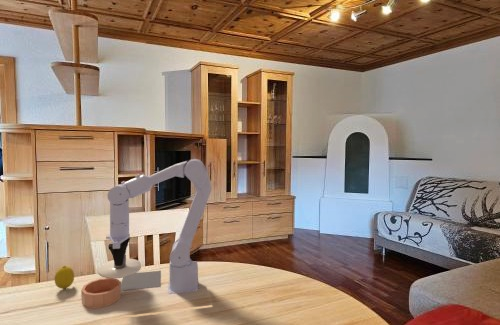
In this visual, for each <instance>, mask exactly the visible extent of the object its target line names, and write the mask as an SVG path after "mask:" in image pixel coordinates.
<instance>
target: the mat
mask: <svg viewBox="0 0 500 325" xmlns="http://www.w3.org/2000/svg"><path fill="white" fill-rule="evenodd" d="M161 278H162V271H161V270H154V271H142V272H137V273H135V274H133V275H130V276H127V277H122V278H121V279H122V280H121V292H124V291H133V290H134V291H135V290H143V289H152V288H153V289H154V288H161V282H162V280H161Z"/></svg>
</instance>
